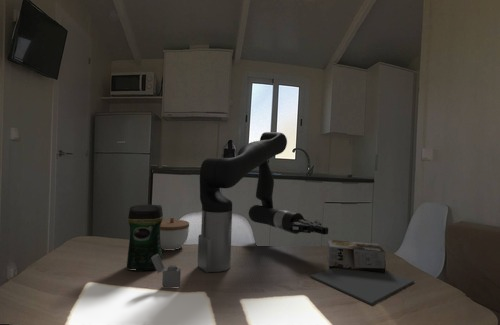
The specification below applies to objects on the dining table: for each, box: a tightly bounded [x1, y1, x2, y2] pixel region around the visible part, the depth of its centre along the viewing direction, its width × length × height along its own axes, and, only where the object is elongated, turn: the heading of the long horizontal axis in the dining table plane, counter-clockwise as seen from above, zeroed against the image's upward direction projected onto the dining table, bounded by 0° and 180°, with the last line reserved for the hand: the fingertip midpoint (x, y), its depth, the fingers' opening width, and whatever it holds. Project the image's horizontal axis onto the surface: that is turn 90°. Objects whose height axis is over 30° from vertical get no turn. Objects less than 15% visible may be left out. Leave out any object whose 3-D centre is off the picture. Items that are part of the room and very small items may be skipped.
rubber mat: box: [309, 267, 415, 306], centre depth 74 cm, size 22×18×1 cm
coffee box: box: [327, 239, 387, 273], centre depth 83 cm, size 9×6×16 cm
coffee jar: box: [126, 204, 164, 271], centre depth 79 cm, size 10×8×19 cm
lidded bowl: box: [160, 217, 190, 249], centre depth 98 cm, size 13×13×11 cm
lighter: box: [151, 254, 182, 288], centre depth 66 cm, size 7×2×8 cm, turn 91°
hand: (326, 231), depth 84 cm, fingers closed
